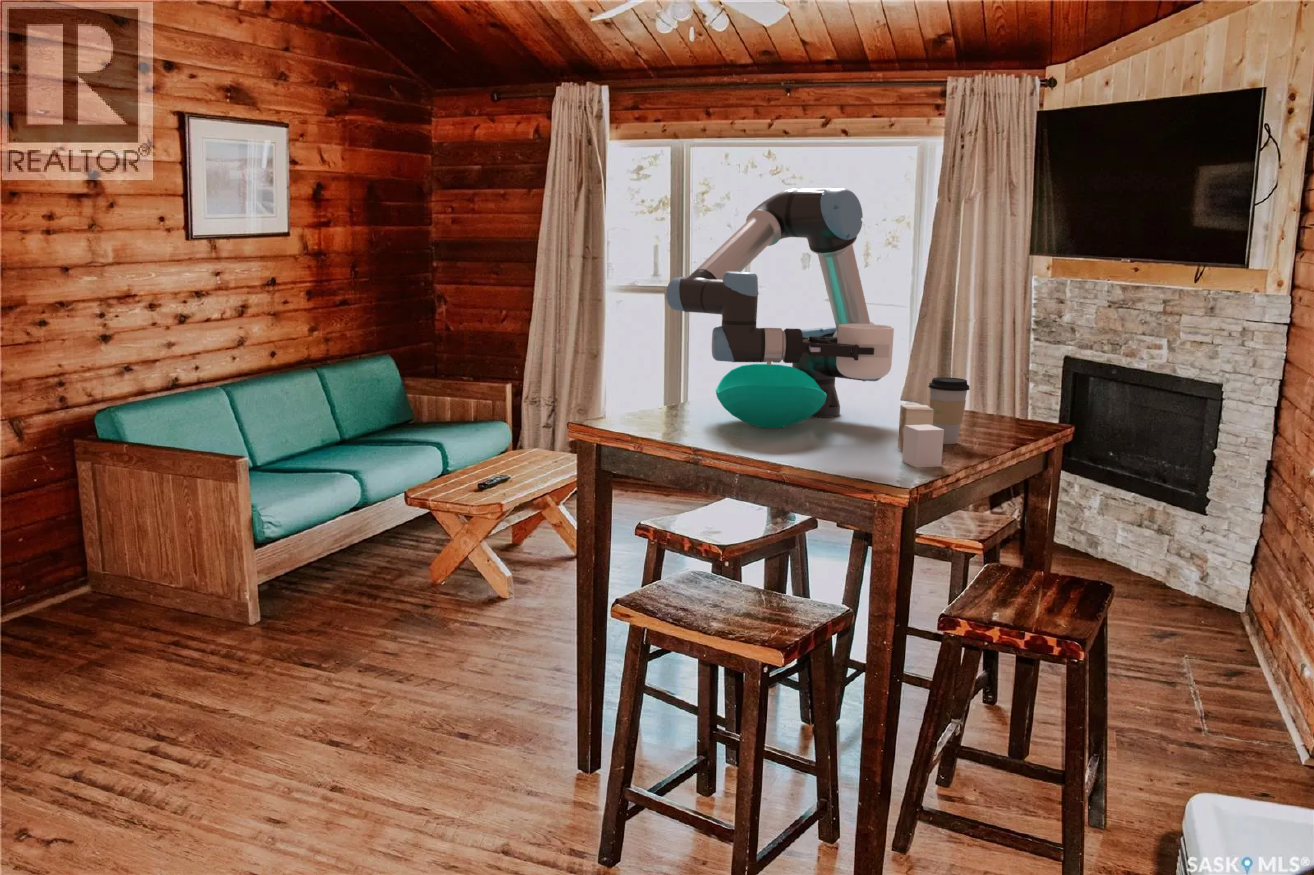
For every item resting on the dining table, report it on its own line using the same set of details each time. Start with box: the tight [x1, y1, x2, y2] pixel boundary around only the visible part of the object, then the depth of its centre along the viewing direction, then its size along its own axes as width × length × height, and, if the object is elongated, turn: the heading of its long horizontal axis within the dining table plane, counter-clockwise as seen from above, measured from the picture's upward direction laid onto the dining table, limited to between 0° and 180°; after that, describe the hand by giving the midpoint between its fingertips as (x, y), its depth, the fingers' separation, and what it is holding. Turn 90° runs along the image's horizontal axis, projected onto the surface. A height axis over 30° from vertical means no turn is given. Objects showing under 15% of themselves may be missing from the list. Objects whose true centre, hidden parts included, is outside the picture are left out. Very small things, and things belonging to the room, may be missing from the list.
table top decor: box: [715, 363, 827, 429], centre depth 261 cm, size 40×28×13 cm
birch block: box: [897, 404, 934, 452], centre depth 236 cm, size 6×6×10 cm
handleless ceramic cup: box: [836, 323, 895, 379], centre depth 226 cm, size 12×12×11 cm
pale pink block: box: [901, 424, 944, 468], centre depth 222 cm, size 6×6×8 cm
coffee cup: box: [928, 376, 971, 445], centre depth 246 cm, size 9×9×15 cm
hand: (881, 347), depth 226 cm, fingers closed on handleless ceramic cup, 12 cm apart
